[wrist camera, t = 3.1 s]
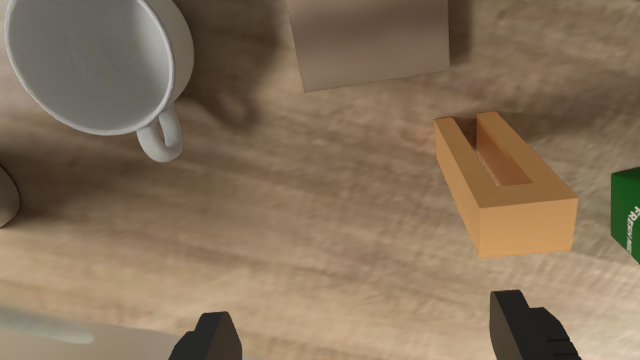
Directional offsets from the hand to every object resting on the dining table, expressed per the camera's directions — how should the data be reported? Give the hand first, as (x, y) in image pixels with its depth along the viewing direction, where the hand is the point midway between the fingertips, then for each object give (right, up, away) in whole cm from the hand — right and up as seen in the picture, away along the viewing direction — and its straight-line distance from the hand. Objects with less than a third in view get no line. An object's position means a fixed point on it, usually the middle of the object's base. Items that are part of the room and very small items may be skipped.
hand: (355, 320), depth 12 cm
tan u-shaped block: (+11, +8, +22) cm, 26 cm away
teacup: (-15, +15, +21) cm, 30 cm away
